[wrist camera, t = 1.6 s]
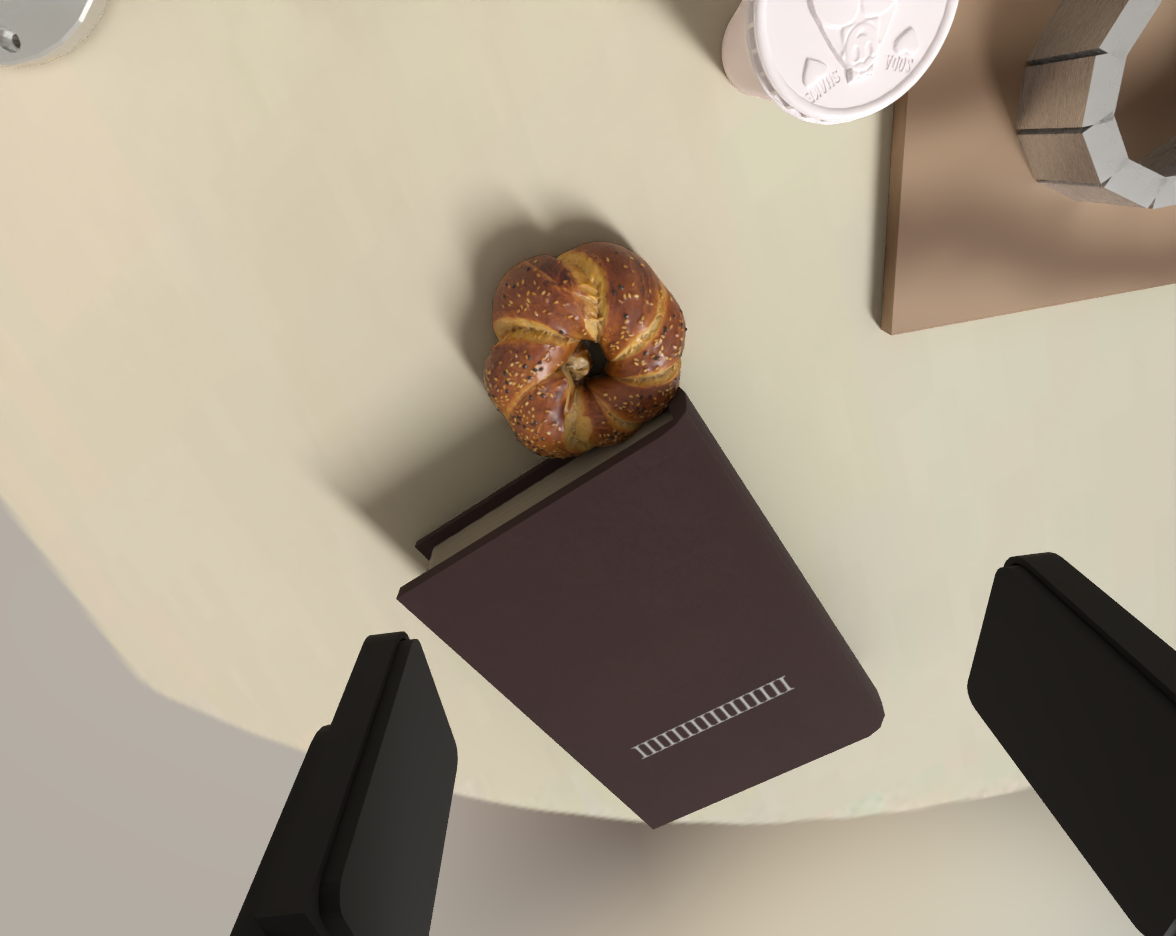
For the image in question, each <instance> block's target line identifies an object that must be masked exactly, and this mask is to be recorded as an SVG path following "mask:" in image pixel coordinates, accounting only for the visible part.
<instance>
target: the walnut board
mask: <svg viewBox="0 0 1176 936" xmlns="http://www.w3.org/2000/svg"><path fill="white" fill-rule="evenodd" d="M1061 1H1062V0H959V2H958V6H957V9H956V13H955V16H954V19H953V22H952V25H951V27H950V30H949V32H948V35H947V37H946V39H945V41H944V43H943V45H942V47H941V49H940V50H939V52H938V54H937V56H936V57H935V59H934V60H933V62H932V63H931V65H930V66H929V67H928V69H927V70H926V71H925V73H924V74H923V75H922V76H921V78H920V79H919V80H918V81H917V82H916V83H915V84H914V85H913V86H912V87H911V88H910V89H909V90H908V91H907V92H906V93H905V94H903V95H902V96H901V97H900V98H898V99H897V100H896V101H894V116H893V133H892V149H891V166H890V183H889V200H888V216H887V233H886V250H885V266H884V283H883V300H882V317H881V330H883V331H885V332H887V333H888V334H890V335H895V334H901V333H906V332H912V331H917V330H923V329H928V328H934V327H939V326H945V325H950V324H956V323H961V322H967V321H972V320H977V319H983V318H988V317H994V316H999V315H1005V314H1010V313H1016V312H1021V311H1027V310H1032V309H1038V308H1043V307H1048V306H1054V305H1059V304H1065V303H1070V302H1076V301H1081V300H1087V299H1092V298H1098V297H1103V296H1109V295H1114V294H1120V293H1125V292H1130V291H1136V290H1141V289H1147V288H1152V287H1158V286H1163V285H1169V284H1174V283H1176V205H1172V206H1166V207H1161V208H1156V209H1147V208H1138V207H1129V206H1119V205H1110V204H1101V203H1092V202H1082V201H1075V200H1073V199H1071V198H1069V197H1067V196H1065V195H1063V194H1061V193H1059V192H1056V191H1054V190H1052V189H1050V188H1048V187H1046V186H1044V185H1042V184H1040V183H1037V182H1038V180H1039V179H1034V178H1033V175H1032V173H1031V171H1030V168H1029V166H1028V163H1027V161H1026V159H1025V156H1024V154H1023V152H1022V149H1021V147H1020V144H1019V142H1018V140H1017V137H1016V134H1018V133H1019V132H1020V131H1021V130H1023V129H1015V126H1016V119H1017V113H1018V106H1019V99H1020V92H1021V85H1022V78H1023V72H1024V68H1025V67H1030V66H1035V65H1033V64H1031V63H1029V62H1027V59H1028V58H1029V56H1030V54H1031V52H1032V51H1033V49H1034V47H1035V46H1036V44H1037V42H1038V40H1039V39H1040V37H1041V35H1042V34H1043V32H1044V30H1045V28H1046V27H1047V25H1048V23H1049V22H1050V20H1051V18H1052V16H1053V15H1054V13H1055V11H1056V10H1057V8H1058V6H1059V4H1060V3H1061ZM1114 117H1115V120H1116V123H1117V126H1118V129H1119V132H1120V134H1121V137H1122V140H1123V143H1124V146H1125V149H1126V152H1127V155H1128V158H1129V159H1130V160H1132V161H1134V162H1136V163H1137V162H1139V161H1140V160H1142V159H1143V158H1144V157H1146V156H1147V155H1149V154H1150V153H1152V152H1153V151H1154V150H1156V149H1157V148H1159V147H1160V146H1161V145H1163V144H1164V143H1166V142H1167V141H1168V140H1170V139H1171V138H1173V137H1174V136H1176V0H1162V2H1161V3H1160V5H1159V6H1158V8H1157V10H1156V11H1155V13H1154V14H1153V16H1152V17H1151V19H1150V20H1149V22H1148V23H1147V25H1146V27H1145V28H1144V30H1143V31H1142V33H1141V34H1140V36H1139V37H1138V39H1137V41H1136V42H1135V44H1134V45H1133V47H1132V48H1131V50H1130V51H1129V53H1128V54H1127V57H1126V62H1125V67H1124V71H1123V76H1122V81H1121V85H1120V90H1119V95H1118V99H1117V104H1116V109H1115V113H1114Z"/></svg>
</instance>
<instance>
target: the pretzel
mask: <svg viewBox="0 0 1176 936" xmlns="http://www.w3.org/2000/svg"><path fill="white" fill-rule="evenodd" d="M492 320H493V329H494V332H495V334H496V336H497V338H498V340H499V342H498V343H497V344H496V345H495V346H493V347H492V349H491V352H490V354H489V356H488V358H487V360H486V364H485V366H484V383H485V386H484V387H485V389H486V390H487V392H488V396H489V397H490V398H491V400H492V401H493V402H494V404H495V406H496V407H497V410H498V411H500V412H501V413H503V415H504V416H505V418H506V419H507V421H508V425H510V426H511V428H512V431H513V432H514V434H515V435H516V438H517V440H518V441H520V442H522V444H523V445H524V446H525V447H528V448H529V449H530V450H532V451H533V452H534V453H536V454H539V455H540V456H546V457H548V458H562V459H564V458H567V457H573V456H579V455H582V454H583V453H585V452H587V451H589V450H590V449H592V448H594V447H595V446H599V447H606V446H614V445H618V444H620V443H623V442H624V441H626V440H627V439H628V438H631V437H632V435H633V434H634V433H635V432H636V431H637V430H638V429H639V427H640V426H641V425H642V423H643V422H647V421H649V420H651V419H652V418H654V417H655V416H658V415H659V414H661V413H662V411H664V410H665V409H666V408H667V407H668V405H667V404H668V403H669V402H670V401H671V399H672V398H673V397H674V395H675V394H676V392H677V390H678V387H679V380H680V368H681V356H682V352H683V350H684V341H685V332H686V330H687V328H686V326H685V321H684V317H683V312H682V310H681V309H680V307H679V305H678V303H677V302H676V300H675V298H674V297H673V295H672V294H671V293H670V292H669V291H668V289H667V288H666V287H665V286H664V285H663V283H662V282H661V281H660V279H659V278H658V277H657V275H656V274H655V273H654V271H653V270H652V269H651V268H650V266H649V265H648V264H647V263H646V261H644V260H643V259H642V258H641V257H639V256H638V255H636V254H635V253H633V252H632V251H630V250H628V249H627V248H624V247H623V246H620V245H617V244H614V243H610V242H590V243H584V244H583V245H580V246H578V247H576V248H574V249H572V250H570V251H568V252H565V253H563V254H561V255H559V256H558V258H554V257H551V256H549V255H545V254H544V255H539V256H535V257H532V258H530V259H527V260H524V261H522V262H520V263H518V264H517V265H515V266H514V267H513V268H511V269H510V270H509V271H508V272H507V273H506V274H505V275H504V277H503V278H502V279H501V281H500V283H499V285H498V287H497V289H496V292H495V294H494V298H493V301H492ZM584 339H585V340H591V341H593V342H596V343H599V345H600V347H601V349H602V351H603V355H604V356H605V358H606V359H607V360H608V361H607V363H606V364H605V366H604V368H603V369H602V370H603V371H602V374H601V375H595V376H591V377H587V378H586V376H587V374H588V373H589V371H590V369H591V367H592V365H593V364H594V363H595V361H594V360H592V359H591V354H590V353H589V351H588V348H587V346H586V343H585V340H584Z"/></svg>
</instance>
